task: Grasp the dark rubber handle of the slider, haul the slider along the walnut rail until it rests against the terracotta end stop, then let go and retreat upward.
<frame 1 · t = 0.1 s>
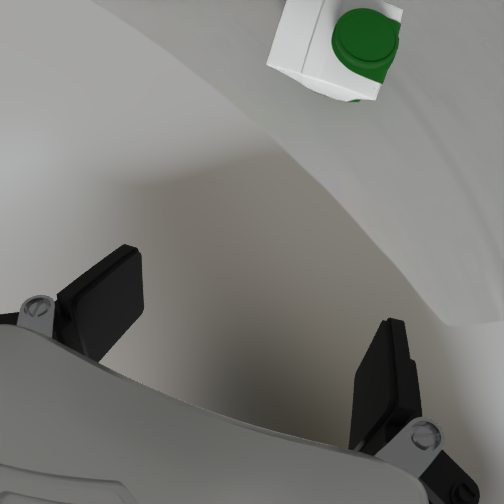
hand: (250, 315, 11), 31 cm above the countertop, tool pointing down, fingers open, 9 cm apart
milk carton: (338, 66, 33), on the countertop
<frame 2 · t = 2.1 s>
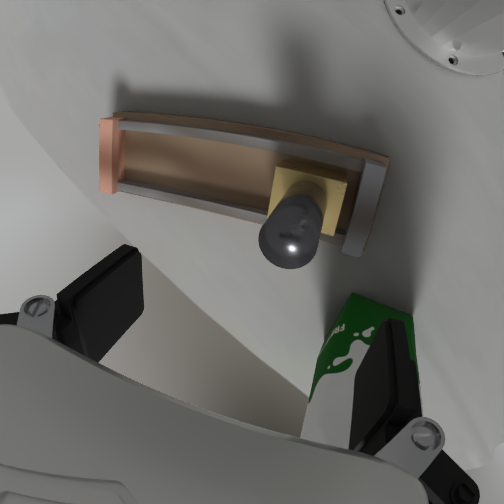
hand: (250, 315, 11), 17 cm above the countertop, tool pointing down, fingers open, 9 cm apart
milk carton: (367, 328, 31), on the countertop
rail base: (234, 167, 27), on the countertop
slider: (301, 210, 20), point 7 cm above the countertop, slide at 0.0 cm
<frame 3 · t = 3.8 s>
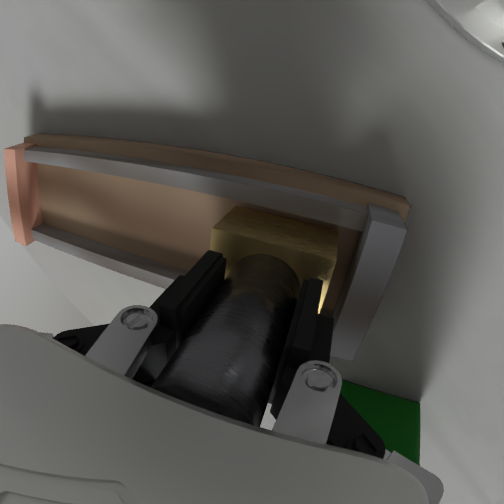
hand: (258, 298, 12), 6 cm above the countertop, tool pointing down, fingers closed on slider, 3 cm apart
milk carton: (359, 414, 22), on the countertop
rail base: (169, 212, 19), on the countertop
slider: (250, 315, 11), point 7 cm above the countertop, slide at 0.0 cm, touching gripper
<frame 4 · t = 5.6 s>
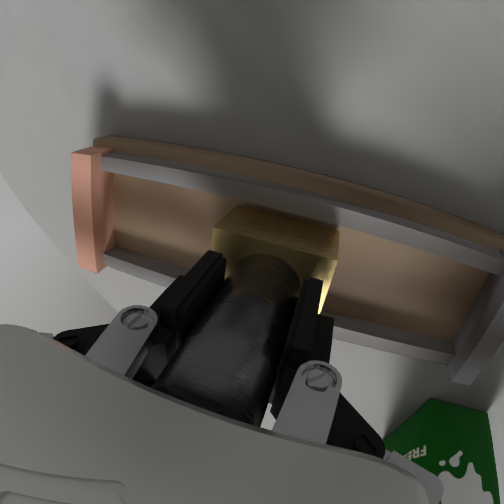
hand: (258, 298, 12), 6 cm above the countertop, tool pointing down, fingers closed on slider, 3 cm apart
milk carton: (434, 426, 21), on the countertop
rail base: (297, 243, 17), on the countertop
slider: (251, 314, 11), point 7 cm above the countertop, slide at 7.6 cm, touching gripper
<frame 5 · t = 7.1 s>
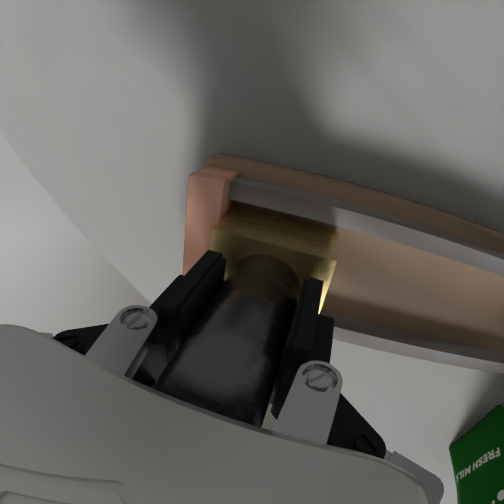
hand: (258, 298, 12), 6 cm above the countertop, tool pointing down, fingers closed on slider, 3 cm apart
milk carton: (493, 430, 19), on the countertop
rail base: (423, 279, 16), on the countertop
slider: (251, 315, 11), point 7 cm above the countertop, slide at 15.1 cm, touching gripper
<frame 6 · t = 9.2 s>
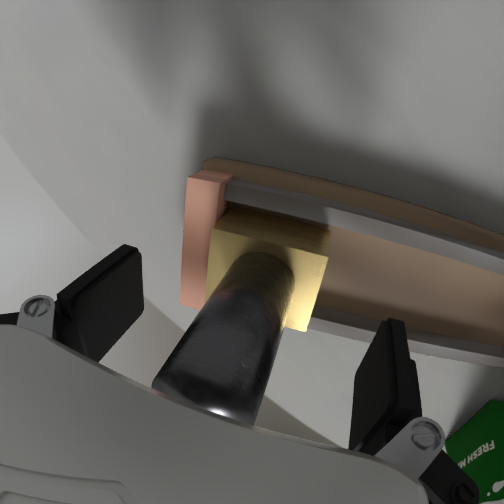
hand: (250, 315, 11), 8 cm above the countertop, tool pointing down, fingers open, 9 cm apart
milk carton: (488, 424, 20), on the countertop
rail base: (412, 274, 17), on the countertop
slider: (248, 308, 12), point 7 cm above the countertop, slide at 15.0 cm
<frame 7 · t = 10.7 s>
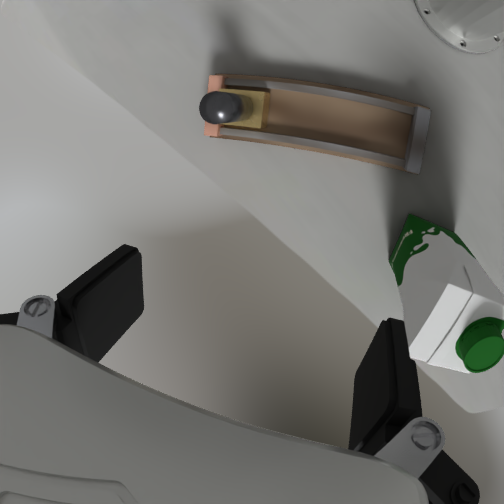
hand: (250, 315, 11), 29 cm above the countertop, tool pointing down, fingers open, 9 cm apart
milk carton: (421, 245, 37), on the countertop
rail base: (318, 117, 34), on the countertop
slider: (233, 107, 30), point 7 cm above the countertop, slide at 15.0 cm
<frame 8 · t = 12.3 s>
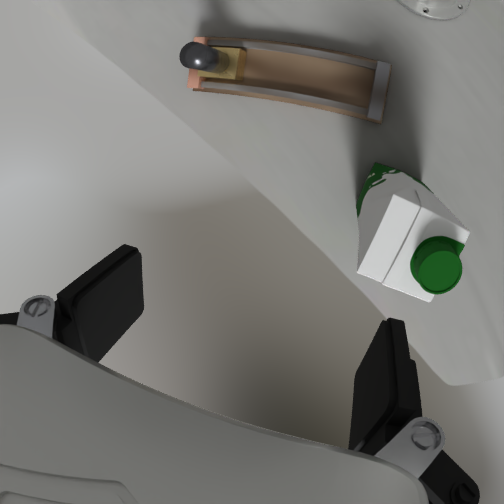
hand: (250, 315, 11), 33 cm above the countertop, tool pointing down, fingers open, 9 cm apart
milk carton: (388, 195, 40), on the countertop
rail base: (289, 73, 36), on the countertop
slider: (211, 60, 32), point 7 cm above the countertop, slide at 15.0 cm
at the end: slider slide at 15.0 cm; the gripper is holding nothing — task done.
